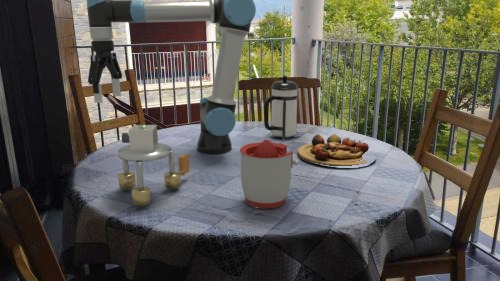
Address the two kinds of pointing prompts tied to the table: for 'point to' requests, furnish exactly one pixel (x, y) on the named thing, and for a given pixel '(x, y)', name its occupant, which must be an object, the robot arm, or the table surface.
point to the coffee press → (282, 109)
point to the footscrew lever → (173, 176)
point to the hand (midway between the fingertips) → (108, 99)
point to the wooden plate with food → (333, 151)
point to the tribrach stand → (140, 159)
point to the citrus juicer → (266, 173)
